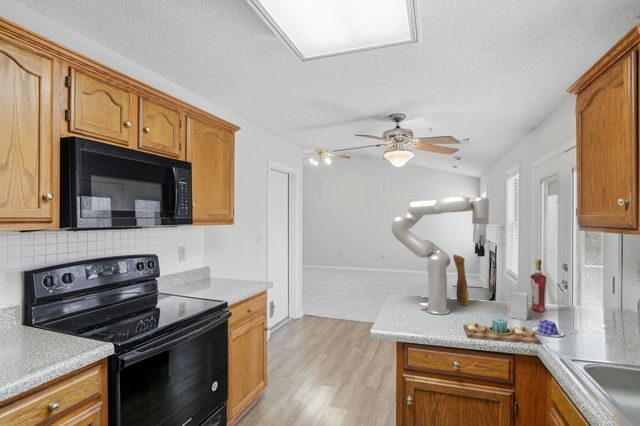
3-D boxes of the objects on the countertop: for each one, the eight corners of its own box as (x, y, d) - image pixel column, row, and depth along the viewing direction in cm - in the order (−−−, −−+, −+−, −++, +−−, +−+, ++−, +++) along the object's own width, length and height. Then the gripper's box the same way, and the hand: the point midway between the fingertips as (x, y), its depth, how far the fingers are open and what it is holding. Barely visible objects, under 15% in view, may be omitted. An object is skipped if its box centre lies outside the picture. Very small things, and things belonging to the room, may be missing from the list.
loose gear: (494, 333, 149) (494, 321, 149) (491, 328, 154) (491, 317, 154) (508, 334, 148) (508, 322, 148) (504, 330, 153) (504, 318, 153)
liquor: (527, 309, 190) (527, 258, 189) (541, 309, 189) (541, 258, 189) (535, 313, 182) (535, 260, 182) (549, 313, 182) (549, 260, 182)
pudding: (570, 336, 150) (570, 324, 150) (548, 339, 147) (548, 327, 147) (546, 327, 162) (546, 316, 162) (525, 329, 159) (525, 318, 159)
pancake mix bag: (458, 306, 195) (458, 257, 195) (452, 298, 214) (452, 253, 213) (470, 307, 194) (471, 258, 193) (464, 298, 212) (464, 253, 212)
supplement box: (526, 320, 171) (527, 295, 170) (510, 317, 175) (510, 293, 175) (528, 316, 177) (528, 292, 176) (512, 314, 181) (512, 290, 181)
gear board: (467, 338, 148) (467, 327, 148) (463, 327, 161) (463, 318, 161) (540, 344, 141) (540, 333, 141) (530, 333, 154) (530, 323, 154)
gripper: (470, 220, 183) (469, 252, 184) (474, 222, 167) (473, 257, 167) (485, 221, 181) (484, 253, 181) (491, 222, 164) (490, 258, 165)
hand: (479, 255), depth 174 cm, fingers open, 9 cm apart
